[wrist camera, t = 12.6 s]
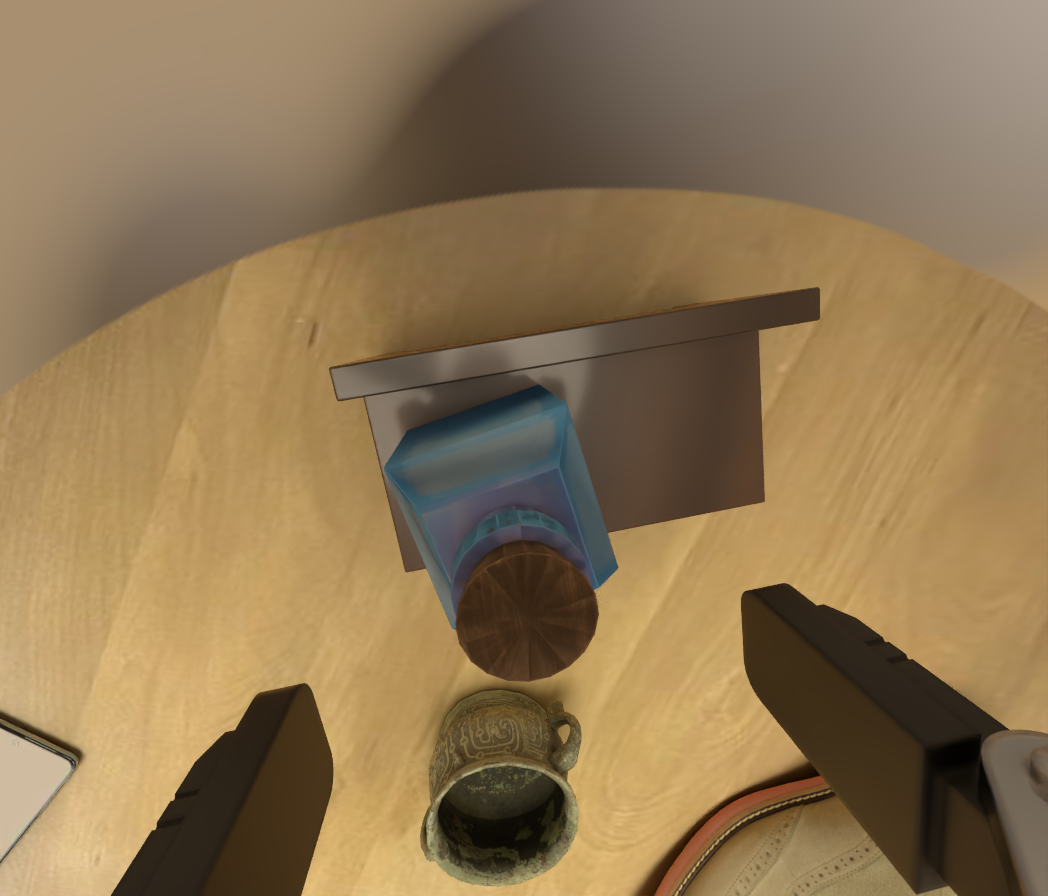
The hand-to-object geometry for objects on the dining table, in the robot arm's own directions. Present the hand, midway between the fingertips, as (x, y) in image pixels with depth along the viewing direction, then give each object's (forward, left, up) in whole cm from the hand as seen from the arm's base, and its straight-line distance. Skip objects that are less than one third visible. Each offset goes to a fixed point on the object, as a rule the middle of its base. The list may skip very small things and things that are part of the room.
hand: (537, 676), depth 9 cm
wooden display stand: (+1, +4, -20) cm, 20 cm away
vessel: (+17, -11, -20) cm, 29 cm away
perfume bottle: (0, 0, -14) cm, 14 cm away
